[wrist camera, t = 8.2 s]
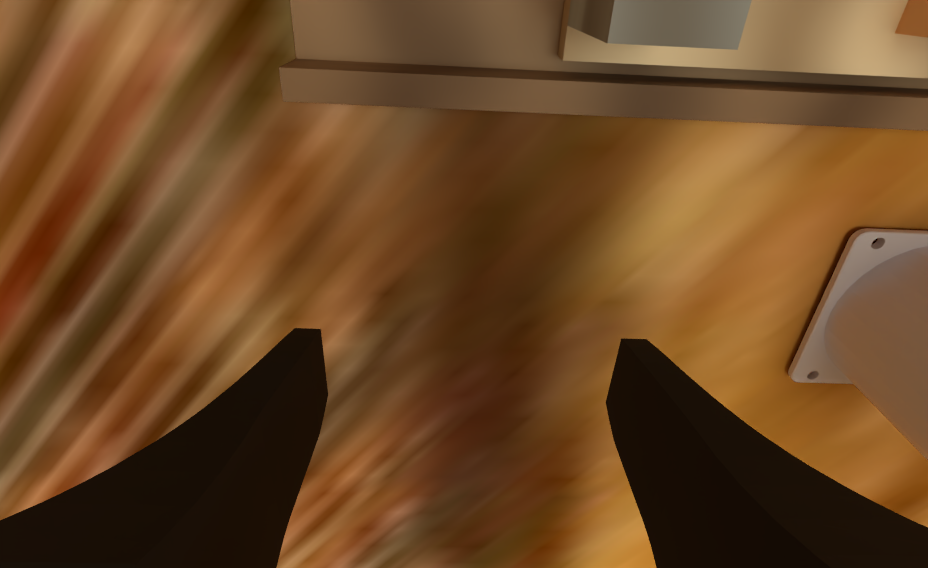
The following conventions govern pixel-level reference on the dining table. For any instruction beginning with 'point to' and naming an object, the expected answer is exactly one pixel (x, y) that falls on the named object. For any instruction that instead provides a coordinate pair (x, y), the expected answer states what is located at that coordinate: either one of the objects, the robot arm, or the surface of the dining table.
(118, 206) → the dining table surface
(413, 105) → the lane board
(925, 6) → the orange cube
